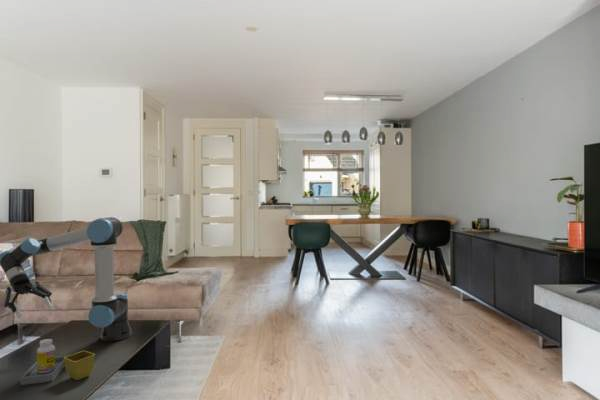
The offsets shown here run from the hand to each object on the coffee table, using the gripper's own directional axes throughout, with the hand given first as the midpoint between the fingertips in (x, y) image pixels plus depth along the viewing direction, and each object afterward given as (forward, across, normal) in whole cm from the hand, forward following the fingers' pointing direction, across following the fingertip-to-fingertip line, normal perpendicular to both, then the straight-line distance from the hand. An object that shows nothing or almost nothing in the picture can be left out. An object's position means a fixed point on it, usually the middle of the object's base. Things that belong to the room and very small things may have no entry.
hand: (35, 312), depth 186 cm
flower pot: (+43, +4, +12) cm, 45 cm away
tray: (+30, +8, 0) cm, 31 cm away
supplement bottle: (+30, +8, +1) cm, 31 cm away
